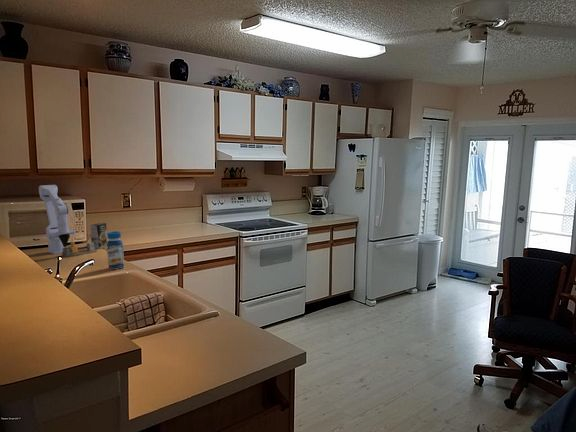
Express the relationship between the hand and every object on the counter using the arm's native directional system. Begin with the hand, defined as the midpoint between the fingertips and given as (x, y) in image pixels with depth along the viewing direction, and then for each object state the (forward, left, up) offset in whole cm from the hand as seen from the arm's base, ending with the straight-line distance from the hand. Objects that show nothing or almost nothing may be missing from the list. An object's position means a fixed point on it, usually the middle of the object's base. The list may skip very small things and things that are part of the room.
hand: (65, 246), depth 268 cm
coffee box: (-7, +26, -6) cm, 28 cm away
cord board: (0, +9, -6) cm, 11 cm away
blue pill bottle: (+53, +3, -6) cm, 53 cm away
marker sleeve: (0, +5, -5) cm, 7 cm away
